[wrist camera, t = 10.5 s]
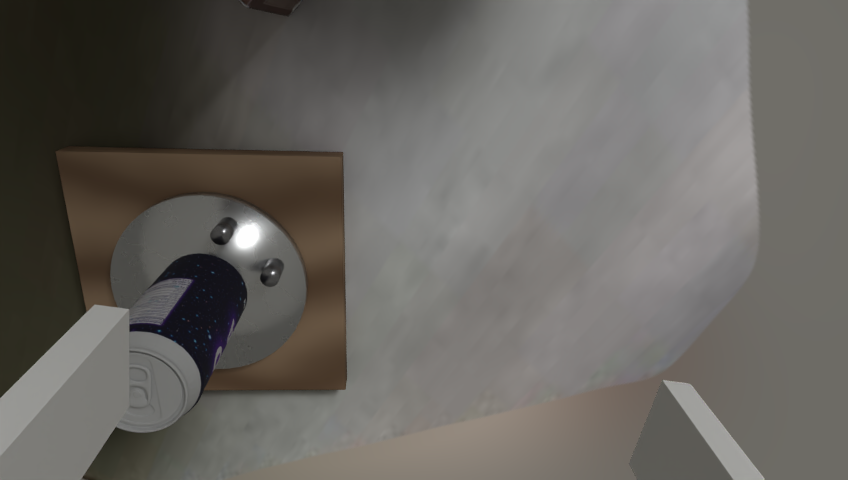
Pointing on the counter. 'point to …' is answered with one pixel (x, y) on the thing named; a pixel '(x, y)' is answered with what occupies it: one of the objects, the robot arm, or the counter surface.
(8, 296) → the counter surface
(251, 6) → the box
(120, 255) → the flange
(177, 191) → the base plate
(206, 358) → the beverage can
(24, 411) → the robot arm
